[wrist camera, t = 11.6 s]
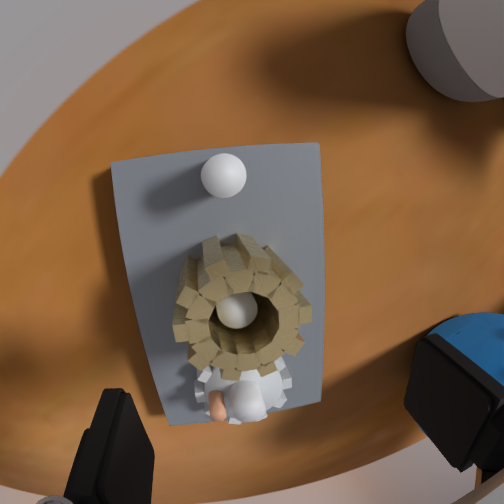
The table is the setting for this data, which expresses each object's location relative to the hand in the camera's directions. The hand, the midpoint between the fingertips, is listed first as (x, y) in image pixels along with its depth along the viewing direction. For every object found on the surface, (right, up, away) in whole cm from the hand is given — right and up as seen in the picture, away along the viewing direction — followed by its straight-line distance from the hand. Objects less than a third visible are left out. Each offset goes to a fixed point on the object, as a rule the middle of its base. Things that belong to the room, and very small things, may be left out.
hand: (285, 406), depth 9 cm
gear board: (-3, +2, +12) cm, 13 cm away
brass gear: (-2, +3, +10) cm, 11 cm away
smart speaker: (+15, +21, +10) cm, 28 cm away
